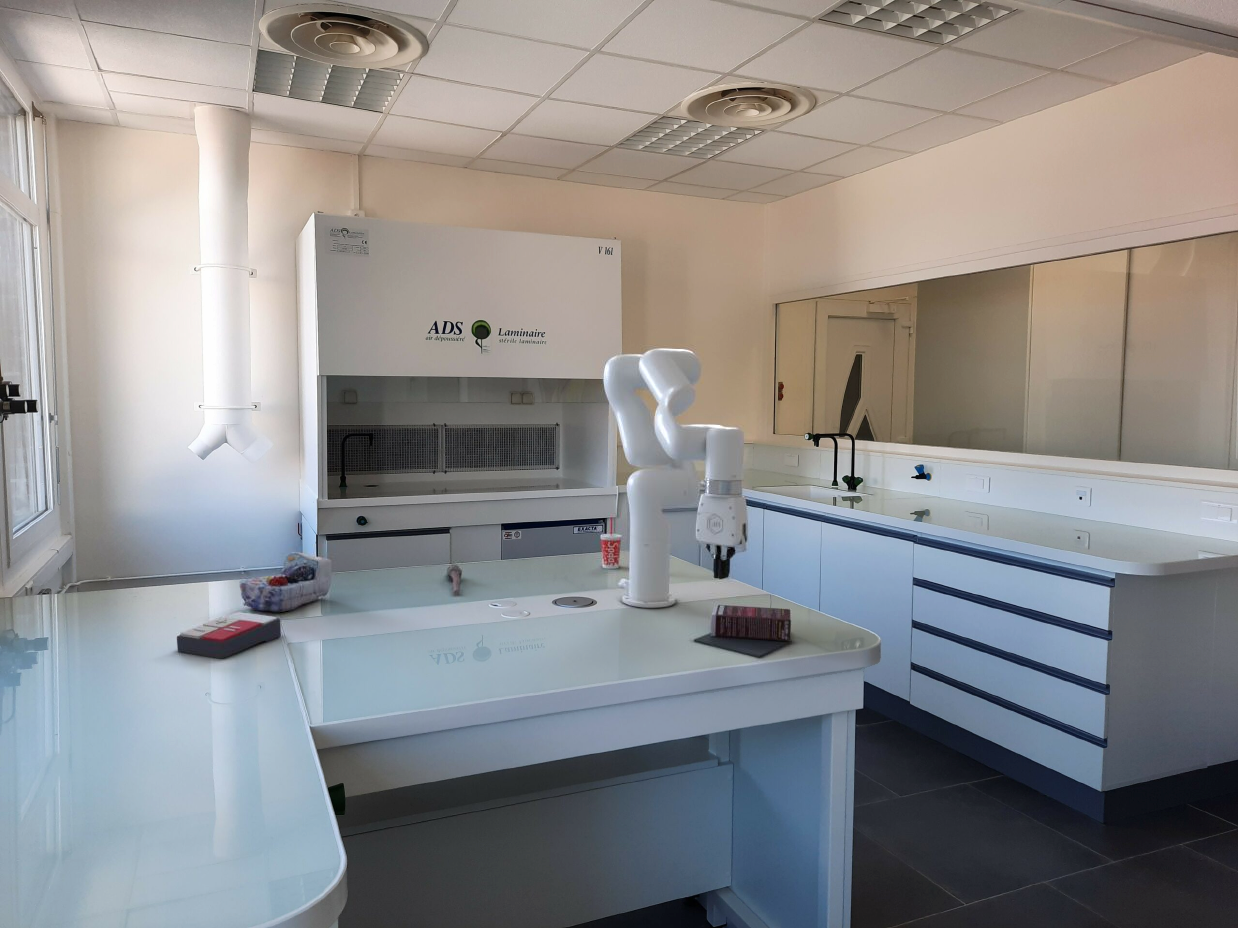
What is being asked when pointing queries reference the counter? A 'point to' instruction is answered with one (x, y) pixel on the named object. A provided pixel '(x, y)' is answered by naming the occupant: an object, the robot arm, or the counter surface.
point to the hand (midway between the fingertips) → (721, 577)
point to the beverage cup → (611, 549)
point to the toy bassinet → (289, 584)
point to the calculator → (228, 635)
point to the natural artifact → (454, 577)
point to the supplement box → (751, 622)
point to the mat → (743, 644)
